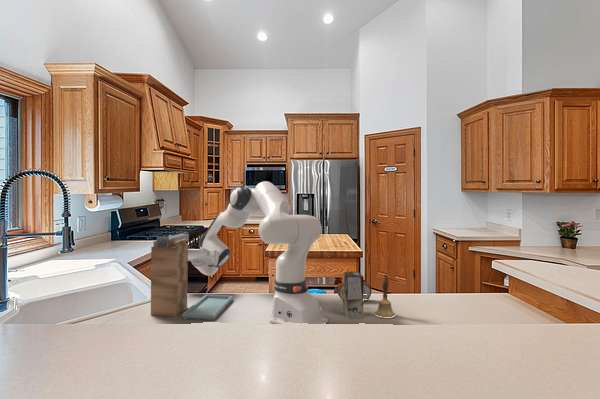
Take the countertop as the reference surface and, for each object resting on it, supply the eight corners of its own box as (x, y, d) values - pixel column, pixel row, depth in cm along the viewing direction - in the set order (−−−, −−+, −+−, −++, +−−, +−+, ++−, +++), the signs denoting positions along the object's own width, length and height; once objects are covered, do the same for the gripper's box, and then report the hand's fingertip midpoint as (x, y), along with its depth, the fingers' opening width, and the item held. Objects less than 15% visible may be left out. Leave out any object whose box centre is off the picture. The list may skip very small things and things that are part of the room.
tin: (370, 299, 153) (370, 281, 153) (371, 301, 150) (372, 282, 150) (337, 299, 153) (337, 280, 152) (338, 301, 150) (338, 282, 149)
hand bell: (369, 313, 136) (370, 273, 136) (386, 310, 139) (387, 271, 139) (382, 320, 128) (383, 278, 128) (400, 317, 132) (401, 276, 131)
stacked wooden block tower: (163, 306, 139) (164, 238, 139) (187, 307, 138) (187, 238, 138) (150, 315, 129) (151, 241, 129) (176, 316, 128) (176, 242, 128)
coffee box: (363, 318, 129) (364, 276, 129) (347, 318, 129) (347, 276, 129) (357, 310, 139) (358, 271, 138) (342, 310, 138) (343, 271, 138)
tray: (205, 298, 150) (205, 294, 150) (232, 300, 149) (232, 295, 149) (182, 318, 126) (182, 313, 126) (213, 320, 125) (214, 315, 125)
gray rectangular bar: (179, 240, 147) (180, 231, 147) (189, 240, 147) (189, 231, 146) (156, 247, 127) (156, 237, 127) (167, 248, 127) (167, 237, 127)
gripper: (181, 252, 168) (170, 241, 156) (222, 253, 166) (214, 242, 154) (178, 264, 165) (167, 254, 153) (220, 266, 163) (211, 256, 151)
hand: (191, 248), depth 153 cm, fingers open, 8 cm apart
